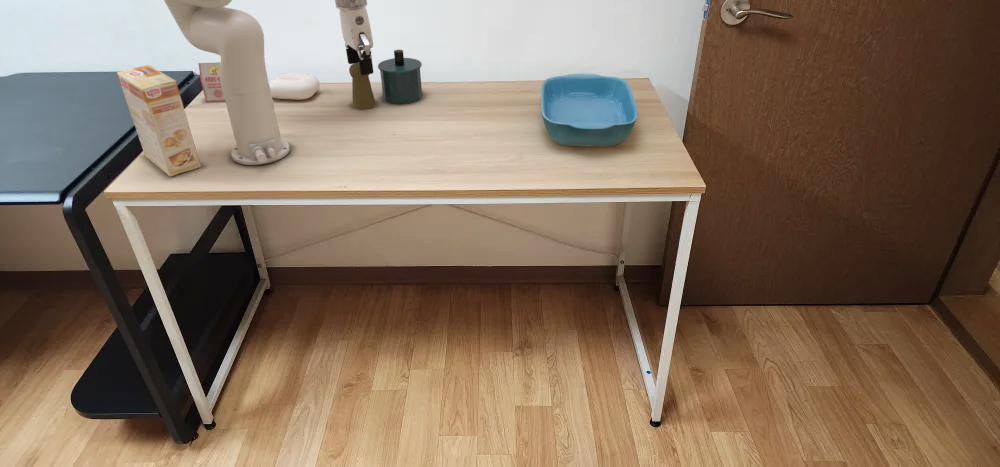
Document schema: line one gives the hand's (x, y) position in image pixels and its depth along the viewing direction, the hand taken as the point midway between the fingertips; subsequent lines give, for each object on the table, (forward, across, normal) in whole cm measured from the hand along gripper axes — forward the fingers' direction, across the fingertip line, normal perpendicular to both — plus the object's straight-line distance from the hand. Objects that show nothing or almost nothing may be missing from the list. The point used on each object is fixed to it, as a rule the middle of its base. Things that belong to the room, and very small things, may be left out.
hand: (360, 68), depth 165 cm
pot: (+10, 0, -10) cm, 14 cm away
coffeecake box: (+9, -10, +49) cm, 50 cm away
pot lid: (+1, 0, -10) cm, 11 cm away
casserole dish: (+10, -40, -42) cm, 59 cm away
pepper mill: (+10, 0, +1) cm, 10 cm away
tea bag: (+10, +24, +33) cm, 41 cm away
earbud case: (+10, +16, +15) cm, 24 cm away
